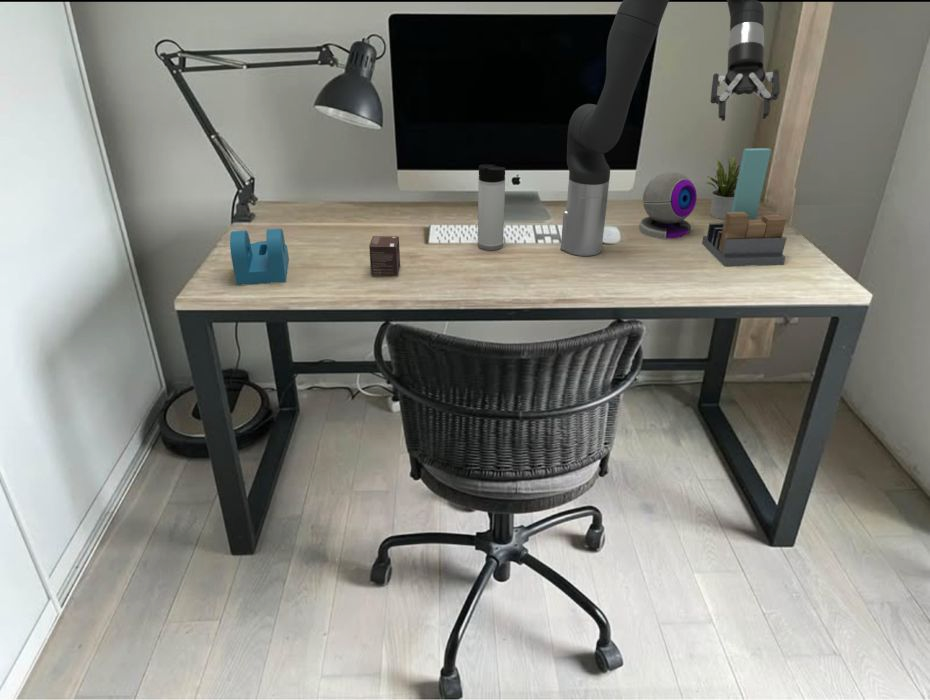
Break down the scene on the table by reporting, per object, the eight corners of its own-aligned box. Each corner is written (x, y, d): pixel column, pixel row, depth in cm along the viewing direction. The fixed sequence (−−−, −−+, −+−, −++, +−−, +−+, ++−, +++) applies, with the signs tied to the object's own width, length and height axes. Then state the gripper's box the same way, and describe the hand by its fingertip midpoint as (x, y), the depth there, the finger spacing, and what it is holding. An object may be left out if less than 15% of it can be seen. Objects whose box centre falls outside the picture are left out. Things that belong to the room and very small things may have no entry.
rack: (701, 243, 170) (706, 220, 167) (756, 242, 171) (762, 219, 168) (724, 266, 158) (729, 241, 155) (783, 264, 159) (789, 240, 156)
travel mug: (471, 246, 168) (472, 164, 158) (489, 239, 172) (490, 159, 162) (490, 253, 164) (492, 170, 154) (508, 245, 168) (511, 164, 158)
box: (374, 265, 158) (372, 235, 154) (400, 266, 158) (399, 235, 154) (370, 276, 153) (368, 245, 149) (397, 277, 153) (396, 246, 149)
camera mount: (286, 282, 150) (279, 237, 145) (236, 285, 149) (228, 240, 143) (289, 251, 166) (284, 209, 160) (245, 254, 164) (237, 211, 159)
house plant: (762, 215, 187) (775, 155, 179) (741, 229, 178) (755, 166, 170) (712, 204, 195) (723, 146, 187) (690, 216, 187) (700, 156, 178)
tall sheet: (725, 240, 166) (744, 148, 155) (747, 239, 167) (768, 148, 155) (727, 242, 165) (747, 150, 154) (750, 242, 165) (771, 149, 154)
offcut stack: (718, 249, 161) (726, 212, 157) (772, 247, 162) (781, 210, 158) (723, 253, 159) (731, 216, 154) (778, 252, 160) (787, 215, 155)
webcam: (664, 242, 170) (674, 183, 163) (628, 227, 180) (635, 170, 172) (700, 232, 176) (711, 174, 169) (663, 218, 186) (671, 162, 178)
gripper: (713, 43, 153) (711, 112, 152) (782, 37, 149) (781, 108, 148) (711, 60, 160) (708, 127, 159) (777, 55, 156) (775, 123, 155)
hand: (743, 118), depth 153 cm, fingers open, 8 cm apart
